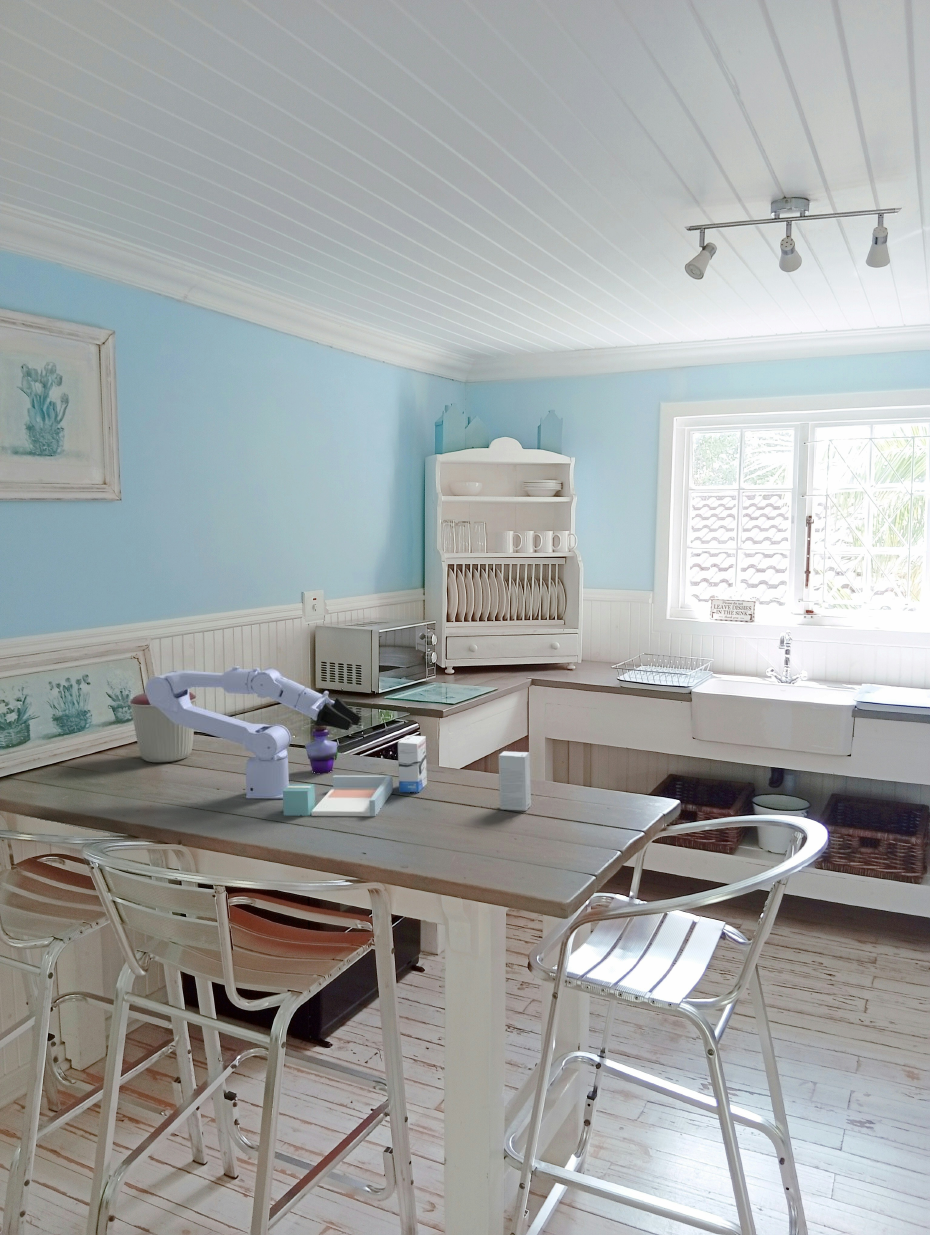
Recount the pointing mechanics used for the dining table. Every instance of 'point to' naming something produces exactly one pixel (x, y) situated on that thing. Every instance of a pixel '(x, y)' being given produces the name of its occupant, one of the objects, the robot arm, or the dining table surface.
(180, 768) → the dining table surface
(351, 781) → the tray
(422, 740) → the ink box
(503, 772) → the skincare box
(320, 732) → the potion bottle
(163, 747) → the canister
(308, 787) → the cube
